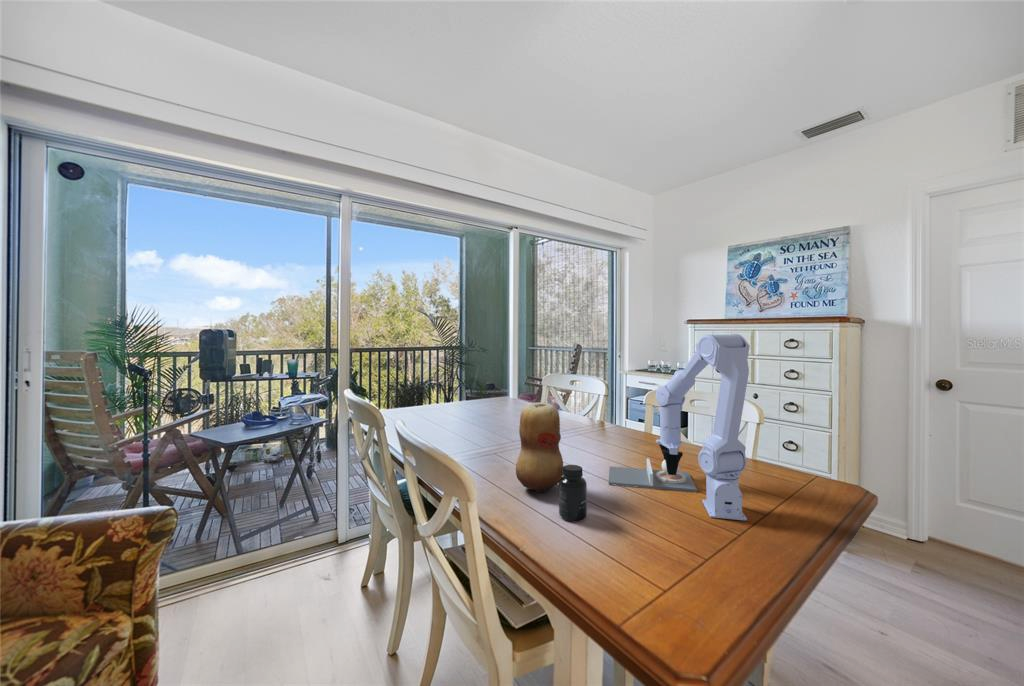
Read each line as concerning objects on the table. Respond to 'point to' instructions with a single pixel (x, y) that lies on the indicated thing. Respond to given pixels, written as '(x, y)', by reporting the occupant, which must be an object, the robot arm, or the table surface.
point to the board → (651, 478)
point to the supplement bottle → (572, 494)
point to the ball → (666, 467)
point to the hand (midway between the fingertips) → (670, 471)
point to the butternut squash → (539, 447)
